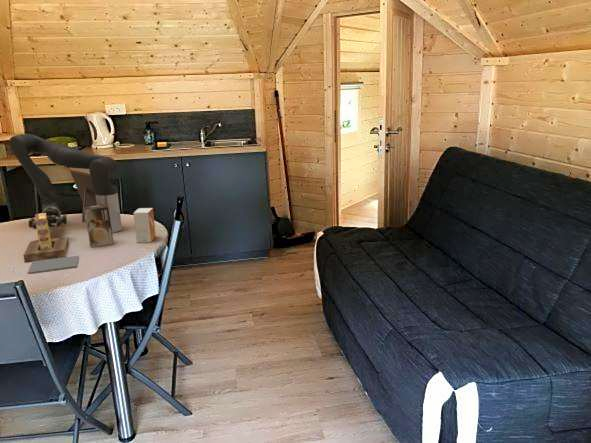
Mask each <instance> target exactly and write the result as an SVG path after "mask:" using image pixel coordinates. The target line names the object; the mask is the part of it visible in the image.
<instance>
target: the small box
mask: <svg viewBox="0 0 591 443" xmlns="http://www.w3.org/2000/svg"><path fill="white" fill-rule="evenodd" d="M132 215H133V223H134V231H135V240H136V243H137V242H139V243H152V241H153V240H154V239H155V238H156V236H157V234H156V226H155V224H156V223H155V216H154V215H155V214H154V208H153V207H139V208H137V209H136V210H135V211H134V212H133V214H132Z"/></svg>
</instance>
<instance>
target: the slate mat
mask: <svg viewBox="0 0 591 443" xmlns="http://www.w3.org/2000/svg"><path fill="white" fill-rule="evenodd" d="M79 259H80V256H79V255H71V256H65V257H63V258H55V259H47V260H39V261H32V262H31V264H30V266H29V268H28V271H27V275H32V274H39V273H46V272H52V271H53V272H54V271H61V270H68V269H77V268H78V264H79Z"/></svg>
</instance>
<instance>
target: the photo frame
mask: <svg viewBox="0 0 591 443" xmlns="http://www.w3.org/2000/svg"><path fill="white" fill-rule="evenodd" d="M69 172H70V175H71V177H72V179H73V182H74V184H75V187H76V189H77V192H78V193H79V196H80V198H81V201H82V213H81V214H82V218H81V221H82V223H84V222H85V221H86V217H85V211H84V207H88V206H96V205H97V201H96V194H95V191H94V189H93V187H92V182H91V177H90V171H89V169H81V168H69Z"/></svg>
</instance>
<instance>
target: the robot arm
mask: <svg viewBox="0 0 591 443" xmlns="http://www.w3.org/2000/svg"><path fill="white" fill-rule="evenodd" d="M8 146H9V148H10V151H11V152H12V153H13V155H14V157H15V158H16V159H17V161H18V162H19V164H20V165H21V166H22V168H23V170H25V172H26V173H27V175H28V176H29V178H30V179H31V181H32V183H33V185H34V187H35V189H36V191H37V193H38V195H39V197H41V198H44V199H45V198H53V200H50V201H47V202H45V203H43V205H42V206H41V208H42V211H41V213H46V216H47V221H48V225H49V228H52V227H54V226H56V227H57V228H58V227H60V226H62V225H63V224H64V225H65V224H66V225H67V222H68V219H67V214H64V213H65V212H67V211H68V204H67V202H66V201H65V200H64V199H63V198H62V196H61V195H60V194H59V193H58V192H57V190H56V188H55V186H54V185H53V183H52V181H51V179H50V177H49V176H48V175H47V174H46V173H45V171H43V169H42V168H40V167H39V166H38V165H37V164H36V163H35V162H34V161H33V160H32V158H31V156H30V155H31V154H40V155H43V156H45V157H47V158H48V160H50V161H51V162H52V163H54V164H55V165H59V166H62V167H65V168H69V169H71V168H81V169H89V171H90V177H91V182H92V187H93V189H94V191H95V194H96V201H97V205H104V204H106V205H107V206H108V208H109V214H110V221H111V228H112V234H113V233H117V232H121V231H123V226H122V219H121V218H122V217H121V208H120V203H119V194H118V188H117V186H116V185H113V184H112V183H111V180H110V178H112V177H114V176H116V175H117V173H118V172H119V169H120V167H119V164H118V162H117V161H116V160H115V159H113V158H112V157H110V156H107V155H106V156H105V155H99V154H95V153H89V152H88V151H84V150H81V149H77V148H76V147H71V146H69V145H65V144H61V143H57V142H54V141H51V140H47V139H44V138H43V137H40V136H37V135H36V134H32V133H23V134H16V135H13V136H11V137H10V138H9V140H8ZM62 214H64V215H62ZM61 215H62V216H61ZM27 222H28V227H29V228H32V229H34V230H37V227H36V222H35V217H31V218H30V219H29V220H28V221H27Z"/></svg>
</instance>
